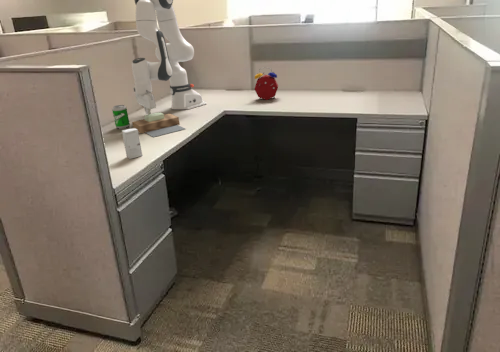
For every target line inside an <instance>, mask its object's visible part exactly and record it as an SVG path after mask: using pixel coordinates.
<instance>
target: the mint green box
mask: <svg viewBox="0 0 500 352" xmlns="http://www.w3.org/2000/svg"><path fill="white" fill-rule="evenodd" d="M164 115H165V114H164V113H162V112H155V113H151V114H149V115H148V114H146V115H144V116H143V117H144V119H145V120H146V121H148V122H151V121H155V120H160V119H164Z"/></svg>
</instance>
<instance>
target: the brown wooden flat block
mask: <svg viewBox="0 0 500 352" xmlns="http://www.w3.org/2000/svg"><path fill="white" fill-rule="evenodd" d="M131 123H132V128H136V129H137V130H138V133H139V132H140V133H139V134H141V133H142V134H145V133H144V132H149V131H153V130H157V129H161V128H165V127H169V126H173V125H179V126H180V124H181V123H180V117H179V116H177V115H174V114H172V113H165V114H164V119H160V120H155V121H151V122H148V121H146V120H145V119H139V120H134V121H131Z"/></svg>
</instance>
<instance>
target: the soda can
mask: <svg viewBox="0 0 500 352" xmlns="http://www.w3.org/2000/svg"><path fill="white" fill-rule="evenodd" d="M111 111H112V115H113V120H114V125H115V128H116V129H118V128H119V129H118V130H123V129H122V128H125V129H127V128H126V127H128V126H130V125H131V124H130V118H129V114H128V109H127V106H125V104H117V105H114V106H113V107H112V108H111ZM128 128H129V127H128Z"/></svg>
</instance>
